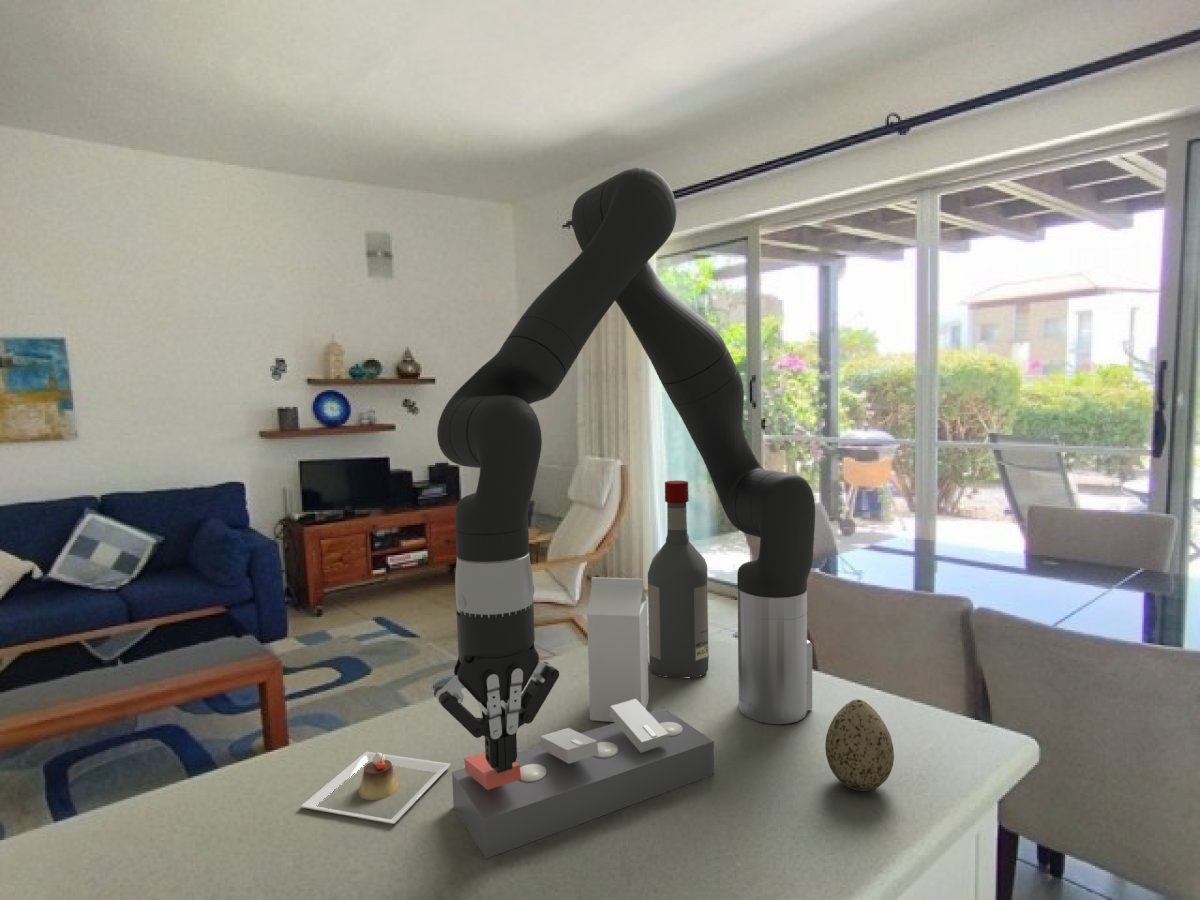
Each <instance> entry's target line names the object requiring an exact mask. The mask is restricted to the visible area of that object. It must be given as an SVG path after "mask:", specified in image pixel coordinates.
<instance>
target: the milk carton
mask: <svg viewBox="0 0 1200 900" xmlns="http://www.w3.org/2000/svg"><path fill="white" fill-rule="evenodd" d="M590 579H591V587H590V593H589V599H588V605H587V610H586V619H587V620H586V625H587V627H586V628H587V656H588V658H587V659H588V686H589V687H588V690H589V691H588V692H589V693H588V694H589V720H590V721H596V722H607V723H609V722H610V723H615V722H614V721H613V720H612V718H611V717H610V706H612V705H616V704H619V703H623V702H626V701H630V700H633V699H637V700H638V701H639V702H640V704H641V705H642V706H643V707H644V708H645V709H646V710H647V707H648V704H649V699H650V698H649V694H650V693H649V657H648V656H649V650H648V649H649V644H648V613H647V612H648V611H647V609H648V608H647V604H648V599H647V597H646V593H645V590H644V585H643V583H644V581H643V580H644V578H631V577H630V578H629V577H627V578H625V577H622V578H621V577H595V576H594V577H593V576H592V577H591V578H590Z"/></svg>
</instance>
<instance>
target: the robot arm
mask: <svg viewBox="0 0 1200 900" xmlns="http://www.w3.org/2000/svg"><path fill="white" fill-rule="evenodd" d="M677 211H678V210H677V202H676V200H675V195H674V192H673V190H672V188H671V186H670V185H669V183H668V182H667V180H666V179H665V178H664V177H663V176H662V175H661V174H660V173H658V172H657V171H655V170H653V169H651V168H647V167H634V168H631V169H630V168H629V169H627V170H622V171H620V172H619V173H616V175H613V176H612V177H609V178H608V179H606V180H604V181H602V182H601V183H598V184H597V185H595V186H594V187H591V188H590V189H588V190H586V191H585V192H583V193H582V194H581V195H579V197H578V198H576V200H575V202H574V203H573V207H572V212H571V223H572V228H573V232H574V236H575V238H576V242H577V243H578V246H579V248H580V249H581V252H580V254H579V255H577V257H576V258H574V260H573V261H572V262H571V263H570V264H569V265H568V266H567V267H566V269H564V270H563V271H562V272H561V273H560V274H559V275H558V276H557V277H556V278H555V279H554V280H553V281H552V282H551V283H550V284H548V285H547V287H546V288H544V290H542V291H541V293H540V294H539V295H538V296H537V297H536V298H535V299H534V300H533V302H532V303H531V304H530V306H528V308H527V309H526V310H525V312H524V313H523V314H522V315H521V317H520V319H519V320H518V322H516V324H515V325H514V327H513V329H512V330H511V332H510V333H509V334H508V336H507V338H506V339H505V340H504V342H503V344H502V345H501V348H500V349H499V351H498V352H496V353H495V355H494V356H493V357H492V358H490V359H489V360H488V361H486V363H485V364H484V365H482V366H481V367H480V368H479V369H478V370H476V372H475V373H474V374H473V375H471V376H470V378H468V380H466V382H464V383H463V384H462V385H461V386H460V388H459V389H458V390H457V391H456V392H455V393H454V394H453V395H452V397H450V399H449V400H448V402H447V403H446V405H445V407H444V408H443V410H442V412H441V414H440V417H439V419H438V424H437V430H436V433H437V434H436V435H437V443H438V446H439V449H440V451H441V452H442V454H443V455H444V456H445V458H447V460H449V461H450V462H452V463H454V464H456V465H459V466H461V467H462V466H463V467H469V468H479V476H478V482H477V487H476V491H475V492H473V493H471V494H468V495H465V496H463V497H462V498H460V499H459V500H458V502H457V503H456V506H455V507H456V508H455V515H454V519H455V520H454V521H455V522H454V525H455V545H456V546H455V548H456V564H455V577H454V581H455V585H454V586H455V587H454V588H455V611H456V632H457V634H456V635H457V651H458V657H457V659H456V660H457V661H456V663H455V665H454V668H453V673H454V675H453V676H452V678H450V680H449V681H448V682H447V683H445V685H444V686H443V685H439V686H436V688H434V692H433V696H434V697H435V699H436V700H437V701H438V703H439V704H440V705H441V706H442V708H443V709H444V710H446V712H448V713H449V714H450V715H451V716H452V718H454V719H455V720H456V721H457V722H458V723H459V724H461V725H460V726H462V727H463V728H464V729H466V731H468V733H470V734H471V735H472V736H473V737H474V738H475V739H479V738H482V737H484V750H485V751H484V752H485V757H486V760H487V762H488V764H489V765H490V766H491V767H492V769H495V770H496V772H497V773H501V772H504V771H507V770H511V769H512V763H514V762H516V759H517V752H518V745H517V744H518V743H517V741H518V740H517V732H518V730H519V728H521V726H524V725H525V724H527V725H529V724H531V723H532V722H533V721H534V719H535V718H536V716H537V715H538V713H539V712H540V710H541V708H542V706H543V704H544V703H545V701H546V699H547V697H548V696H549V695H550V694H551V693H550V692H551V691H552V689H553V687H554V686H555V684H556V683H557V681H558V679H559V677H560V671H559V669H557V668H556V667H554V666H553V665H551V664H550V662H548V661H542V660H541V659H540V655H539V652H538V651H537V650H536V649H537V648H535V640H536V636H535V634H536V633H535V610H534V609H535V608H534V595H535V586H534V583H533V582H534V580H533V579H534V578H533V569H532V565H531V558H530V538H529V537H530V536H529V535H530V534H529V533H530V532H529V531H530V530H529V519H528V518H529V517H528V516H529V515H528V513H529V507H530V504H531V500H532V495H533V492H534V486H535V481H536V477H537V472H538V467H539V463H540V458H541V453H542V445H543V443H542V441H543V439H542V430H541V425H540V421H539V419H538V416H537V413H536V412H535V410H534V408H533V407H532V406H531V404H533V403H536V402H540V401H543V400H547V398H549V397H551V396H553V394H554V393H555V392H556V391H557V389H558V388H559V387H560V385H561V384H562V382H563V381H564V379H565V378H566V377H567V375H568V373H569V371H570V369H571V368H572V366H573V364H574V362H576V359H578V356H579V355H580V353H581V351H582V350H583V348H584V346H585V345H586V343H587V341H588V340H589V338H590V337H591V335H592V334H593V332H594V331H595V329H596V328H597V326H598V324H599V323H600V322H601V320H602V319H603V318H604V316H605V315H606V313H607V312H608V311H609V309H610V308H611V307H612V305H613V304H614V302H616V304H617V305H618V307H619V308H620V311H621V312H622V313H623V315H624V317H625V318H626V320H627V322H628V323H629V325H630V328H631V329H632V331H633V333H634V335H635V336H636V338H637V339H638V341H639V343H640V345H641V347H642V348H643V350H644V352H645V354H646V355H647V357H648V359H649V361H650V362H651V365H652V367H653V369H654V370H655V372H656V373H655V374H656V375H657V376H658V380H659V381H660V383H661V384H662V386H663V388H664V391H665V392H666V394H667V396H668V398H669V400H670V401H671V404H672V405H673V407H674V408H675V410H676V411H677V413H678V415H679V416H680V418H681V421H682V423H683V424H684V425H685V428H686V430H687V431H688V434H689V435H690V437H691V439H692V441H693V443H694V445H695V447H696V449H697V451H698V453H699V454H700V456H701V458H702V460H703V463H704V464H705V467H706V469H707V471H708V474H709V476H710V478H711V482H712V483H713V487H714V489H715V492H716V494H717V497H718V499H719V502H720V504H721V506H722V508H723V511H724V512H725V513H724V514H725V515H726V517H727V518H728V520H729V522H730V523H731V525H732V526H733V527H734V528H735V529H737V530H738V531H740V532H741V533H743V534H746V535H749V536H752V537H756V538H760V539H759V541H760V542H759V552H758V557H757V559H755V560H750V561H746V562H744V563H742V564H741V565H740V566H739V567H738V570H737V574H736V575H737V580H736V581H737V589H736V591H737V592H736V593H737V660H738V661H737V666H738V667H737V669H738V670H737V671H738V673H737V674H738V677H737V679H738V680H737V683H738V709H739V712H740V713H742V714H743V715H744V716H745V717H746V718H749V719H751V720H754V721H756V722H760V723H764V724H770V725H788V724H792V723H796V722H799V721H801V720H803V719H805V717H806V716H807V713H808V711H810V710H812V709H813V644H812V642H811V640H808V619H807V618H808V578H809V575H810V573H811V570H812V567H813V561H814V560H813V559H814V549H815V548H814V543H815V529H816V527H815V526H816V524H815V523H816V503H815V496H814V492H813V489H812V488H811V485H810V484H809V482H808V481H807V479H805V478H804V477H802V476H800V475H798V474H796V473H790V472H784V471H778V470H777V471H776V470H770V469H769V470H768V469H765V468H764V467H763V466H762V465H761V464H760V462H759V461H758V459H757V457H756V456H755V454H754V453H753V450H752V448H751V446H750V445H749V443H748V440H747V438H746V435H745V432H744V426H743V423H744V422H743V419H744V418H743V417H744V403H745V397H744V396H745V391H744V385H743V380H742V377H741V374H740V372H739V369H738V367H737V366H736V363H735V362H734V358H733V357H732V355H731V353H730V350H729V349H728V347H727V344H726V342H725V341H724V339H723V337H722V336H721V334H720V333H719V332H718V331H717V330H716V328H715V327H714V326H713V325H711V324H710V322H709V321H708V320H706V319H704V318H703V316H701V315H700V314H698V313H697V312H696V311H695V310H693V309H692V308H691V307H689V306H688V305H686V303H684V302H683V301H682V300H680V299H679V298H678V297H677V296H675V295H674V294H673V293H672V292H670V291H669V290H668V288H667V287H666V286H665V285H664V284H663V282H662V281H661V280H660V278H659V277H658V276H657V275H656V273H655V271H654V269H653V268H652V265H651V264H650V262H649V260H650V259H651V258H653V256H654V255H655V254H656V253H657V252H659V250H660V249H661V247H662V246H663V245H665V243H666V242H667V240H668V239H669V238H670V236H671V234H672V233H673V231H674V229H675V225H676V221H677ZM463 687H464V689H466V691H468V693H470V695H471V696H472V697H473V698H474V699H475V700H476V701H477V705H478V708H479V711H480V717H475V715H474V714H473V713H471V711H469V710H468V709H467V708H466V707H465V706H464V704H462V703H463V701H464V697H465V696H464V694H463V692H462V688H463ZM522 692H523V693H522Z"/></svg>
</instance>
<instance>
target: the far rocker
mask: <svg viewBox="0 0 1200 900" xmlns="http://www.w3.org/2000/svg"><path fill="white" fill-rule="evenodd" d="M610 717H611V718H612V720H613V721H614V722H613V723H616V724H617V725H618V727H619V728H620V729H621V730H622V731H623V733H624V734H625V735H626V736H627V737H628V738H629V740H630V741H631V742H632V743H633V744H634V745H635V747H636V748H637V749H638V750H639V751H640V752H641V753H642V752H645V751H648V750H651V749H654V748H657V747H660V746H663V745H666V744H667V743H668V735H669V733H668V732H667V731H666V730H665V729H664V728H663V727H662V726H661V725H660V724H659V723H658V722H657V721H656V720H655V718H654V717H653V716H652V715H651V714H650V712H649V711H648V709H647V708H646V709H645V708H644V707H643V706H642V705H641V704H640V702H639V701H638V700H637V699H633V700H630V701H626V702H623V703H619V704H616V705H612V706H610Z"/></svg>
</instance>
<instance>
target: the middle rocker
mask: <svg viewBox="0 0 1200 900" xmlns="http://www.w3.org/2000/svg"><path fill="white" fill-rule="evenodd" d="M581 733H582V732H578V731H577V730H574V729H572V728H570V727H566V728H563V729H560V730H555V731H552V732H549V733H547V734H543V735H540V738H539V739H540V745H541V746H542V749H543V750H545V751H547V752H549V753H550V754H552V755H554V756H556V757H558V758H559V759H561V760H563V761H565V762H566V763H568V764H570V763H573V762H576V761H579V760H582V759H585V758H588V757H591V756H595V755H598V754H599V753H598V745H597V741H596V740H594V739H592V738H590V737H587V736H585V735H583V734H581Z"/></svg>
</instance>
